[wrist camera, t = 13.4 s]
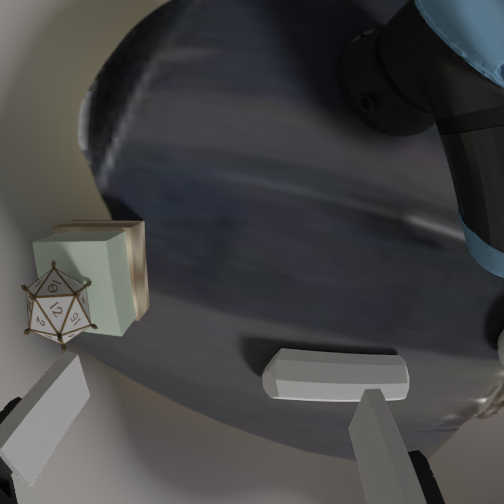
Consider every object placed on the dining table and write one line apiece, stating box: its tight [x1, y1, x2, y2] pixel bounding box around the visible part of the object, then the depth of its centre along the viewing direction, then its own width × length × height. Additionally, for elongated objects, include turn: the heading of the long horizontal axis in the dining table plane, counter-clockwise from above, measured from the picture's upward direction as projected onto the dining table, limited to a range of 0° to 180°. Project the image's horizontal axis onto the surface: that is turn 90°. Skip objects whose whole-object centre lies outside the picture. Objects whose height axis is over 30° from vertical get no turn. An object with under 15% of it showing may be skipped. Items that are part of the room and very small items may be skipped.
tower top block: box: [33, 231, 136, 336], centre depth 32 cm, size 11×11×5 cm
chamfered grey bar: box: [262, 348, 409, 401], centre depth 40 cm, size 7×7×24 cm
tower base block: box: [53, 220, 150, 321], centre depth 36 cm, size 12×12×5 cm
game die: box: [21, 259, 98, 351], centre depth 25 cm, size 9×8×10 cm
